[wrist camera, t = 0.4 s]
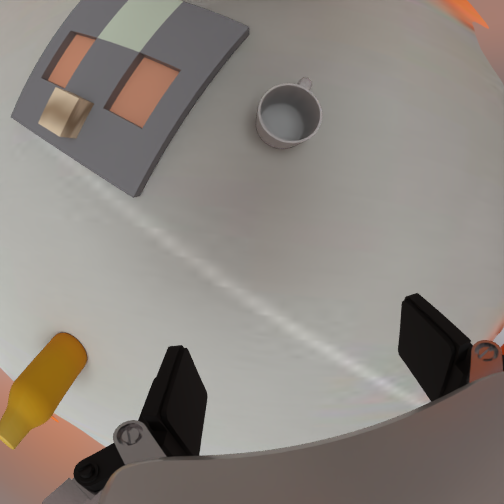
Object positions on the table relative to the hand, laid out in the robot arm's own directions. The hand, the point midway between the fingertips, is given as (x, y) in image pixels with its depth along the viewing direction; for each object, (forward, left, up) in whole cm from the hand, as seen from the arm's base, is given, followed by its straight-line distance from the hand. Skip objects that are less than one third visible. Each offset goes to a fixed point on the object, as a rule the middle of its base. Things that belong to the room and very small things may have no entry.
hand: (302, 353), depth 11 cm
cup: (-14, -6, -30) cm, 34 cm away
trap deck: (-8, -35, -30) cm, 47 cm away
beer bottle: (+45, -20, -30) cm, 58 cm away
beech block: (+1, -35, -28) cm, 44 cm away
